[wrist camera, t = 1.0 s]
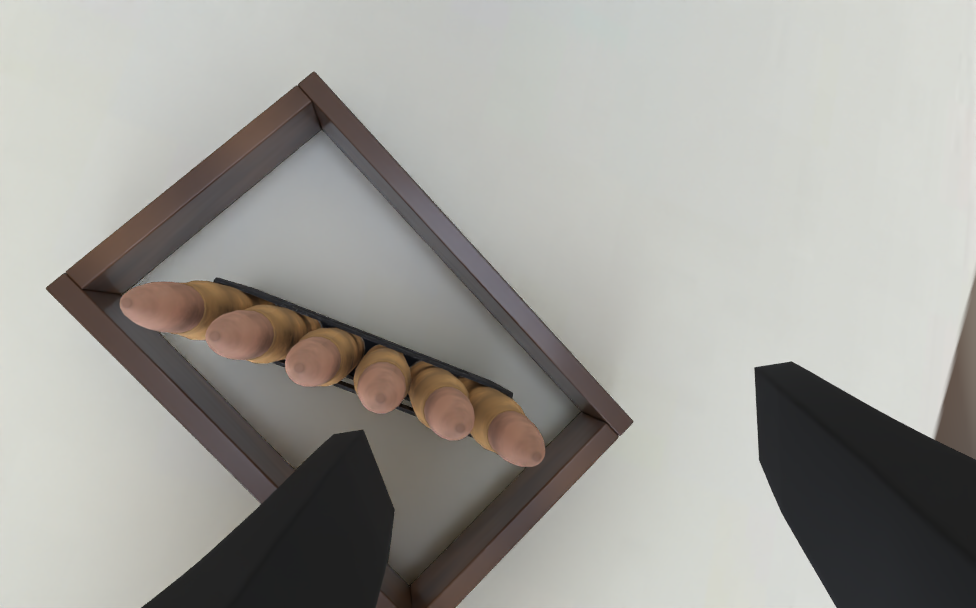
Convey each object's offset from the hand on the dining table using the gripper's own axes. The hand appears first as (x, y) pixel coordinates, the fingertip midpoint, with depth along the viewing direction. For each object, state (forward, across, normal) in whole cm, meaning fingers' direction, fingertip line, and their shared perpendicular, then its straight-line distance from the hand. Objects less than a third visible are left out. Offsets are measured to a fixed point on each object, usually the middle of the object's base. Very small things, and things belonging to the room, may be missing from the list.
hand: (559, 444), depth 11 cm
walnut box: (+12, +8, +3) cm, 14 cm away
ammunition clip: (+12, +8, +4) cm, 15 cm away
